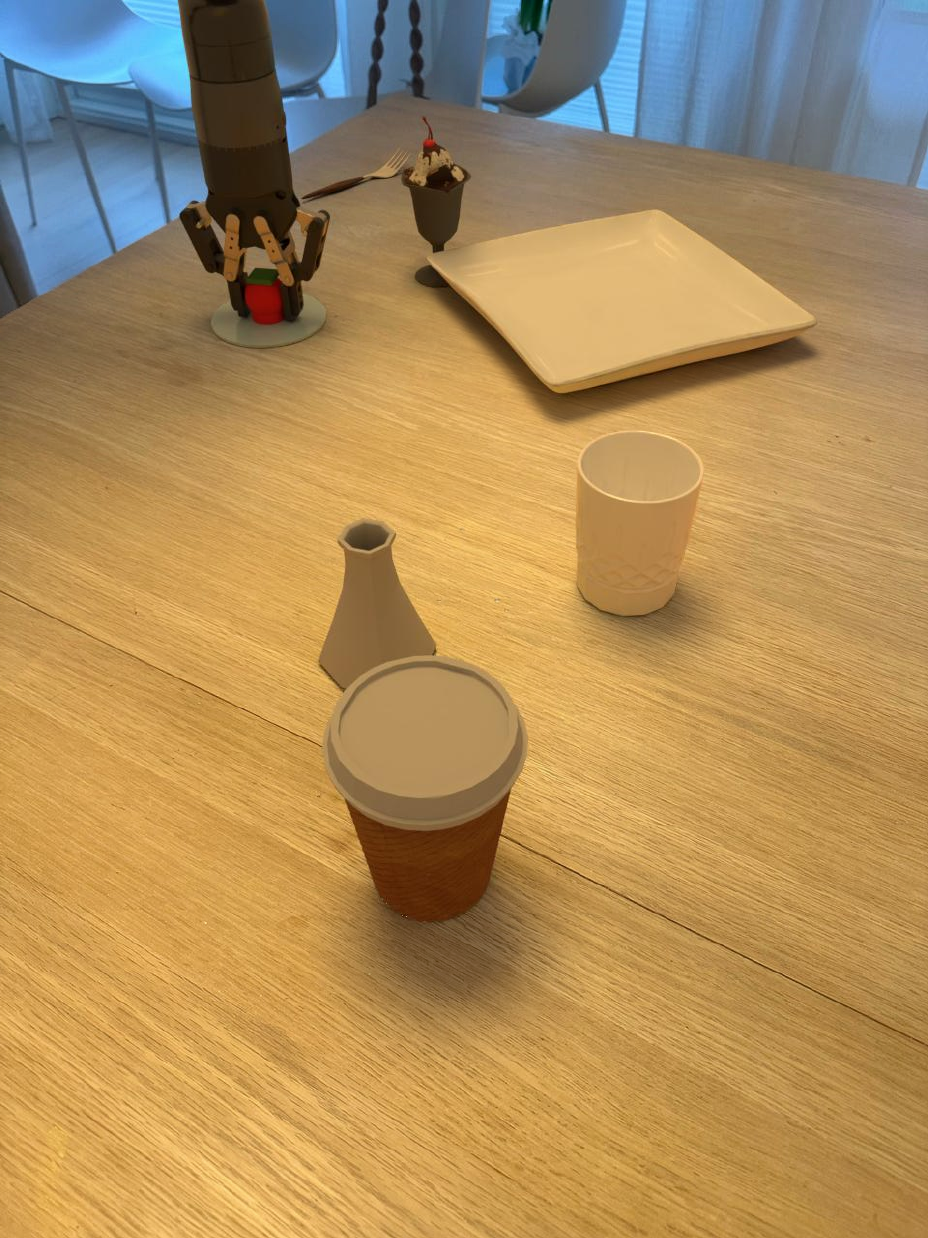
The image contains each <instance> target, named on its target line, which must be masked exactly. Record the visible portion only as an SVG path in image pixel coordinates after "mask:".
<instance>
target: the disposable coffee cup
mask: <svg viewBox="0 0 928 1238" xmlns="http://www.w3.org/2000/svg"><path fill="white" fill-rule="evenodd" d="M528 743H529V737H528V731H527V727H526V723H525V719H524V718H523V716H522V714H521V712H520V709H519V708H518V706H517V705H516V704H515V703H514V701H513V697H511V695H510V693H509V692H508V690H507V689H506V687H505V686H504V685H503V684H502V683H501V682H500V681H499V680H498V679H497V678H495V677H494V676H492V674H490V673H489V672H487V671H486V670H485V669H483V668H481V667H479V666H477V665H475V664H473V663H471V662H468V661H465V660H463V659H458V658H454V657H449V656H444V655H434V654H432V655H428V656H412V657H407V658H403V659H398V660H394V661H390V662H386V663H384V664H381V665H379V666H377V667H375V668H373V669H371V670H369V671H368V672H366V673H364V674H363V675H361V676H360V677H358V678H357V679H356V680H355V681H354V682H353V683H352V684H351V685H350V686H349V687H348V688H345V689H344V691H343V693H342V694H341V696H340V697H339V698H338V700H337V702H336V704H335V706H334V708H333V711H332V714H331V715H330V717H329V718H328V722H327V723H326V726H325V729H324V732H323V738H322V744H321V752H322V758H323V763H324V769H325V771H326V773H327V775H328V777H329V780H330V783H331V784H332V785H333V787H334V788H335V790H337V792H338V794H339V795H340V796H341V797H342V798H344V802H345V804H346V808H347V810H348V812H349V816H350V818H351V822H352V825H353V826H354V830H355V833H356V836H357V838H358V842H359V844H360V846H361V850H362V852H363V854H364V858H365V860H366V864H367V866H368V870H369V872H370V875H371V878H372V880H373V883H374V887H375V889H377V890H376V892H377V891H378V892H377V894H378V893H379V894H378V896H379V897H380V898H382V899H383V900H382V899H381V900H382V902H383V903H384V902H385V903H387V905H388V906H389V907H388V906H387V905H386V906H387V907H388V908H389V909H391V910H392V909H393V910H394V911H393V910H392V911H393V912H395V913H396V914H398V913H399V914H398V915H400V914H401V915H403V916H405V917H404V918H406V919H409V918H410V919H409V920H413V921H417V922H422V921H426V922H425V923H436V922H435V921H439V922H444V921H443V920H445V921H447V920H451V919H454V917H455V918H457V917H459V916H461V914H462V915H463V914H465V913H467V912H468V911H470V910H471V909H473V908H474V907H475V906H476V905H477V903H479V902H480V900H481V899H482V898H483V897H484V895H485V893H486V892H487V890H488V887H489V885H490V881H491V876H492V871H493V867H494V863H495V858H496V855H497V850H498V846H499V842H500V836H501V833H502V830H503V829H502V828H503V825H504V820H505V816H506V812H507V809H508V803H509V800H510V795H511V791H512V788H513V786H514V785H515V783H516V782H517V780H518V779H519V777H520V775H521V774H522V772H523V769H524V766H525V763H526V759H527V756H528V746H529V744H528ZM385 903H384V904H385ZM401 915H400V916H401ZM403 916H402V917H403ZM406 916H407V917H406Z"/></svg>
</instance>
